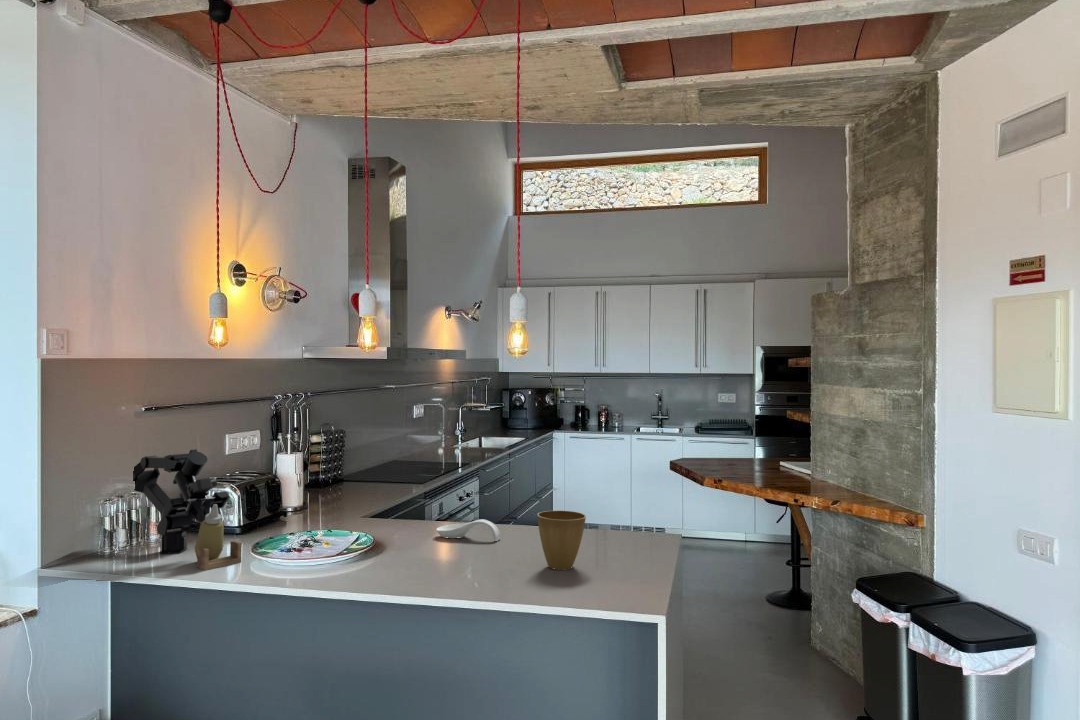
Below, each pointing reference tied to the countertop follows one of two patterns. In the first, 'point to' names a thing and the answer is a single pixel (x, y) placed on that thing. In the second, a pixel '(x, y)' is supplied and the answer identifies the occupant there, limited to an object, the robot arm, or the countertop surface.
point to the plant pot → (561, 536)
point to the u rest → (208, 564)
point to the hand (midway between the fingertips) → (207, 524)
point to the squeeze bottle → (211, 534)
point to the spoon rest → (466, 529)
